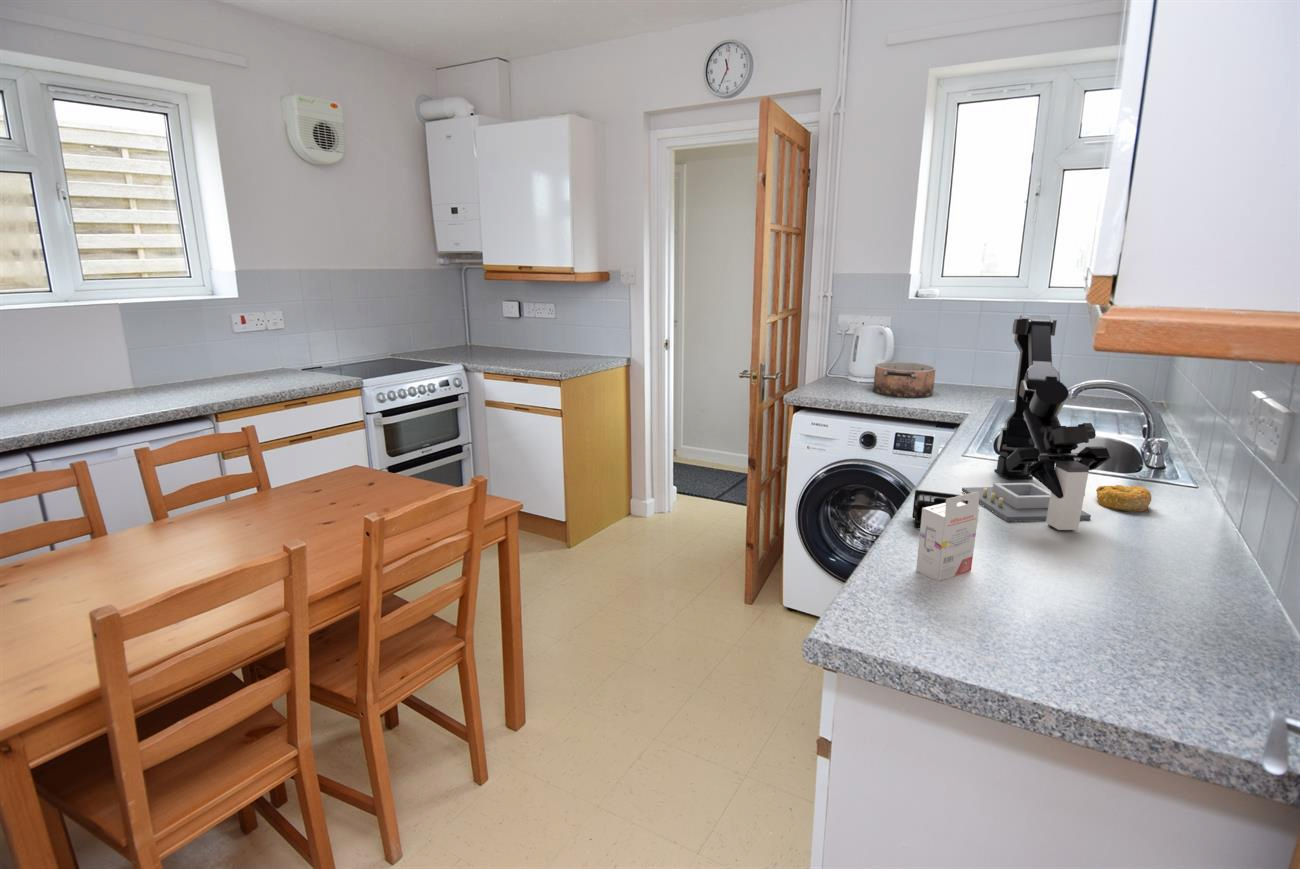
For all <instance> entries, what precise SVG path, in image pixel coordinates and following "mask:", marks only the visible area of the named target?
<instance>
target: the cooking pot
mask: <svg viewBox="0 0 1300 869" xmlns="http://www.w3.org/2000/svg"><path fill="white" fill-rule="evenodd" d="M936 368H937V367H935V366H932V365H929V364H926V363H925V364H924V363H918V362H905V361H903V362H902V361H890V362H889V361H888V362H886V361H885V362H878V363H876V364H875V368H874V369H875V370H874V378H873V392H874V393H876V394H877V395H880V396H886V397H891V398H898V399H899V398H900V399H925V398H929V397H931V396H932V395H933V394H934V387H935V386H934V385H935V377H936V376H935V375H936Z"/></svg>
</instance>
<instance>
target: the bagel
mask: <svg viewBox="0 0 1300 869" xmlns="http://www.w3.org/2000/svg"><path fill="white" fill-rule="evenodd" d="M1095 491H1096V498H1097V502H1098V504H1099V505H1101V506H1102V507H1105V508H1108V509H1112V510H1118V511H1125V512H1134V513H1135V512H1136V513H1137V512H1138V513H1140V512H1144V511H1146V510H1147V509H1148V508H1149V506H1150V504H1151V502H1152V494H1151V492H1150V490H1149V489H1147V488H1145V487H1143V486H1139V485H1138V486H1137V485H1132V486H1126V485H1120V484H1115V485H1099V486H1098V487H1097V488H1096V489H1095Z"/></svg>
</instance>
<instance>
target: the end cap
mask: <svg viewBox="0 0 1300 869" xmlns="http://www.w3.org/2000/svg"><path fill="white" fill-rule="evenodd" d="M960 495H961V494H958V493H957V494H956V493H949V492H940V491H939V492H938V491H931V490H923V489H915V491H914V496H913V505H912V518H913V519H914V520H913V521H914V522H913V528H914V527H915V528H914V529H917V528H920V527H921V516H922V508H925V507H929V506H934V505H938V504H942V503H946V499H948V498H952V497H956V496H960ZM961 502H962V503H965V504H968V501H964V500H962V501H961Z"/></svg>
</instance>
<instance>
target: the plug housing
mask: <svg viewBox="0 0 1300 869" xmlns="http://www.w3.org/2000/svg"><path fill="white" fill-rule="evenodd" d="M1055 472H1056V475H1057V478H1058V480H1059V483H1060V486H1061V488H1062V492H1063V497H1062V498H1058V497H1057V496H1055V495H1054V494H1053V493H1052V492H1051V491H1050V493H1051V494H1050V500H1049V506H1048V512H1047V518H1046V521H1045V523H1047V524H1048V525H1050V526H1051V527H1053V528H1054V529H1056V530H1058V531H1071V530H1072V531H1074V530H1075V531H1076V530H1077V531H1078V530H1079V525H1080V521H1081V520H1080V516H1081V510H1082V511H1083V505H1084V504H1083V502H1084V498H1085V496H1084V494H1085V495H1086V488H1087V482H1088V477H1089V472H1090V470H1089V467H1088V466H1086V465H1083V464H1081V463H1079V462H1077V461H1056V463H1055Z"/></svg>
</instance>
